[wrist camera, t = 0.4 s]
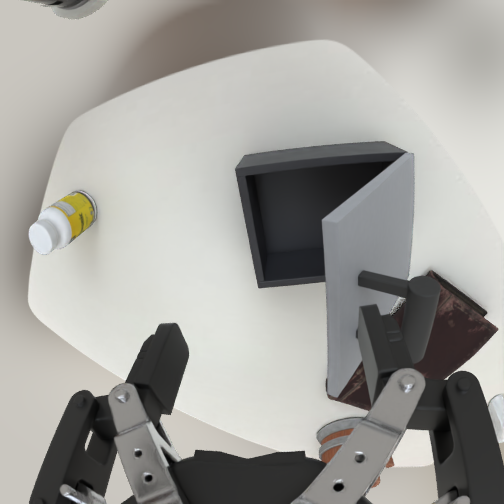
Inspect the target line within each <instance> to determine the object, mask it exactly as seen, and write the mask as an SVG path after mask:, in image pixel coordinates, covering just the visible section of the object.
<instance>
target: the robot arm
mask: <svg viewBox="0 0 504 504" xmlns="http://www.w3.org/2000/svg"><path fill="white" fill-rule="evenodd" d="M24 1H30V2H35V3H41V4H46V5H43V6H45V7H58V8H61V9H65V10H72V9H75V8H78V7H80V6H82V5H84V4H85V3H87V2H88V1H89V0H24ZM358 342H359V347H360V352H361V356H362V361H363V365H364V370H365V375H366V380H367V385H368V390H369V395H370V400H371V406H372V408H371V410H370V411H369V413H368V414H367V416H366V417H365V418H362V419H361V420H360V421H359V422H358V424H357V425H356V426H355V428H354V429H353V431H352V432H351V434H350V435H349V436H348V438H347V439H346V441H345V442H344V443H343V445H342V446H341V447H340V449H339V450H338V451H337V453H336V454H335V455H334V456H333V458H332V459H331V460H330V462H329V463H328V464H327V463H325V462H322V461H320V460H317V459H313V458H308V457H306V456H305V451H295V452H276V453H272V454H268V455H263V456H259V457H254V458H249V459H246V458H242V457H238V456H234V455H231V454H227V453H223V452H218V451H204V450H195V454H194V456H193V457H189V458H186V459H182V458H181V457H180V456H179V454H178V453H177V452H176V450H175V448H174V446H173V444H172V442H171V440H170V438H169V436H168V434H167V432H166V430H165V428H164V426H163V424H162V422H161V420H160V417H161V414H166V415H171V413H172V409H173V406H174V403H175V400H176V396H177V393H178V390H179V387H180V384H181V380H182V377H183V374H184V371H185V368H186V365H187V362H188V358H189V349H188V346H187V343H186V341H185V339H184V337H183V335H182V333H181V330H180V328H179V326H178V324H176V323H163V324H160V325H159V326H158V328H157V330H156V332H155V335H151V336H150V337H149V338H148V339H147V340H146V341H145V342H144V343H143V345H142V348H141V350H140V352H139V354H138V356H137V359H136V360H135V362H134V364H133V367H132V369H131V371H130V373H129V375H128V377H127V380H126V382H125V383H122V384H119V385H117V386H116V387H114V388H113V389H112V390H111V392H110V393H109V395H105V396H99V397H94V396H93V395H92V393H91V392H90V391H87V390H82V391H79V392H77V393H75V394H74V395H73V396H72V398H71V399H70V401H69V403H68V405H67V407H66V410H65V412H64V414H63V416H62V418H61V421H60V423H59V425H58V427H57V430H56V432H55V435H54V437H53V439H52V441H51V444H50V446H49V449H48V451H47V454H46V456H45V459H44V461H43V464H42V466H41V469H40V472H39V474H38V478H37V480H36V483H35V486H34V489H33V491H32V494H31V497H30V501H29V504H107V503H106V500H105V499H104V496H105V493H106V489H107V485H108V482H109V478H110V474H111V471H112V467H113V464H114V461H115V457H116V454H117V451H118V453H119V456H120V459H121V462H122V465H123V467H124V471H125V473H126V476H127V478H128V481H129V484H130V486H131V489H132V491H133V494H134V495H133V496H131V497H130V498H128V499H127V500H126V501H124V502H123V503H121V504H372V503H371V502H370V501H369V500H368V499H367V498H366V497H365V496H366V494H367V493H368V492H369V490H370V489H371V487H372V486H373V485H374V483H375V482H376V480H377V479H378V477H379V476H380V474H381V472H382V471H383V469H384V467H385V466H386V464H387V463H388V461H389V459H390V458H391V456H392V454H393V453H394V451H395V449H396V447H397V446H398V444H399V442H400V440H401V439H402V437H403V435H404V433H405V431H406V430H407V429H415V430H429V435H430V440H431V446H432V452H433V459H434V465H435V473H436V481H437V490H438V500H436V501H435V502H433V503H432V504H504V465H503V460H502V456H501V452H500V448H499V444H498V440H497V436H496V433H495V429H494V426H493V422H492V419H491V416H490V413H489V409H488V406H487V403H486V400H485V397H484V395H483V392H482V389H481V386H480V384H479V381H478V379H477V378H476V377H475V376H474V375H473V374H472V373H470V372H467V371H458V372H455V373H453V374H452V375H451V376H450V377H449V378H448V380H438V379H429V378H426V377H424V376H423V375H422V374H421V373H420V372H419V371H417V370H416V369H415V367H414V365H413V362H412V359H411V356H410V354H409V351H408V348H407V345H406V343H405V340H404V337H403V335H402V332H401V330H400V327H399V325H398V322H397V321H396V320H395V319H394V318H393V317H392V316H391V315H390V314H386V315H381V314H380V311H379V309H378V306H377V304H371V305H364V306H359V317H358ZM90 430H91V431H92V432H93V434H92V436H91V439H90V442H89V445H88V448H87V450H86V451H85V443H86V440H87V437H88V435H89V432H90Z"/></svg>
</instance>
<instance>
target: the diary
mask: <svg viewBox="0 0 504 504" xmlns="http://www.w3.org/2000/svg"><path fill="white" fill-rule="evenodd" d="M427 277H431V278H433V279H435V280H436V281H437V282H438V283H439V284H440V287H441V291H440V296H439V300H438V305H437V309H436V313H435V318H434V322H433V325H432V329H431V333H430V337H429V340H428V344H427V347H426V351H425V354H424V357H423V359H422V360H421V361H419V362H417V363H415V364H413V365H414V367H415V369H416V370H417V371H419V372H420V373H421V374H422V375H423V376H424V377H426V378H429V379H438V380H444V379H445V378H447V377H448V376H449V375H450V374H452V373H453V372H454V371H456V370H457V369H458V368H459V367H461V366H462V365H463V364H464V363H466V362H467V361H468V360H469V359H470V358H471V357H472V356H474V355H475V354H476V353H477V352H478V351H479V350H480V349H481V348H482V347H483V345H484V344H485V343H486V342H487V341H488V340H489V339H490V338H491V337H492V336H493V335H494V334H495V333H496V332H497V331H498V328H497V327H496V326H494V325H493V324H492V323H490V322H489V321H488V320H486V319H485V318H484V316H485V315H486V314H487V312H486V311H485V310H484V309H483V308H481V307H480V306H479V305H478V304H476V303H475V302H474V301H472V300H471V299H470V298H469V297H467V296H466V295H465V294H463V293H462V292H461V291H459V290H458V289H457V288H455V287H454V286H453V285H451V284H450V283H449V282H447V281H446V280H444V279H443V278H442V277H440V276H439V275H438V274H436V273H435V272H433V271H432V270H431V271H430V272H429V274H428V275H427ZM405 303H406V302H405ZM405 303H404V304H403V305H402V307H401V308H400V309H399V310H398V311H397V312H396V313H395V314H394V315H393V316H392V317H393V318H394V319H395V320H396V321H397V322H398V325H399V327H400V330H401V326H402V321H403V315H404V309H405ZM327 386H328V378H327V379H326V392H327ZM327 396H328V398H329V399H332V400H335V401H339V402H342V403H346V404H349V405H352V406H355V407H358V408H361V409H364V410H368V411H370V410H371V408H372V406H371V400H370V395H369V390H368V385H367V380H366V375H365V370H364V365H363V361H361V363H360V364H359V366H358V367H357V369H356V370H355V372H354V374H353V375H352V377H351V378H350V380H349V381H348V383H347V384H346V386H345V387H344V389H343V390H342V391H341V393H340V394H339V396H338V397H337V398H336V397H334V396H331V395H329V394H327Z"/></svg>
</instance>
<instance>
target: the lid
mask: <svg viewBox="0 0 504 504" xmlns="http://www.w3.org/2000/svg"><path fill="white" fill-rule="evenodd" d="M413 218H414V154H413V153H405V154H404V155H402V156H401V157H400V158H399V159H397V160H396V161H395V162H394V163H393V164H391V165H390V166H389V167H388V168H386V169H385V170H384V171H383V172H381V173H380V174H379V175H378V176H376V177H375V178H374V179H373V180H371V181H370V182H369V183H368V184H366V185H365V186H364V187H363V188H361V189H360V190H359V191H358V192H356V193H355V194H354V195H353V196H351V197H350V198H349V199H348V200H346V201H345V202H344V203H342V204H341V205H340V206H339V207H337V208H336V209H335V210H334V211H332V212H331V213H330V214H329V215H327V216H326V217H325V218H323V219H322V230H323V244H324V259H325V277H326V299H327V337H328V386H327V394H329V395H331V396H334V397H336V398H337V397H338V396H339V394H340V393H341V391H342V390H343V389H344V387H345V386H346V384H347V383H348V381H349V380H350V378H351V377H352V375H353V374H354V372H355V370H356V369H357V367H358V366H359V364H360V363H361V361H362V356H361V352H360V347H359V342H358V317H359V306H364V305H371V304H377V306H378V309H379V311H380V314H381V315H386V314H389V313H390V311H391V310H392V308H393V306H394V304H395V302H396V300H397V298H398V296H399V297H403V298H406V303H405V309H404V315H403V321H402V326H401V332H402V335H403V337H404V340H405V343H406V345H407V348H408V351H409V354H410V356H411V359H412V362H413V364H415V363H417V362H419V361H421V360H422V359H423V357H424V354H425V351H426V347H427V344H428V340H429V337H430V333H431V329H432V325H433V322H434V318H435V313H436V309H437V305H438V300H439V296H440V291H441V287H440V284H439V283H438V282H437V281H436V280H435V279H433V278H431V277H427V276H418V277H414V278H412V279H411V280H410V281H408V280H407V278H408V276H409V269H410V260H411V249H412V235H413Z"/></svg>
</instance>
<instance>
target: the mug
mask: <svg viewBox="0 0 504 504" xmlns="http://www.w3.org/2000/svg"><path fill="white" fill-rule="evenodd" d="M361 419H362V418H347V419H342V420H338V421H335V422H332V423H330V424H328V425H326V426H325V427H323V428H322V429H321V430H320V431H319V432H318V434H317V440H318V441H319V442H320V444H321V447H320V448H319V458H320V460H322V462H325V463H327V464H328V463H329V462H330V460H331V459H332V458H333V456H334V455H335V454H336V453H337V451H338V450H339V449H340V447H341V446H342V445H343V443H344V442H345V441H346V439H347V438H348V436H349V435H350V434H351V432H352V431H353V429H354V428H355V426H356V425H357V424H358V422H359V421H360V420H361ZM392 466H394V462H393V459H392V456H391V458H390V459H389V461H388V463H387V464H386V467H387V468H389V467H392ZM379 483H380V476H379V477H378V479H377V480H376V482H375V483H374V485H373V486H372V487H371V488H373V487H376V486H377V485H379Z"/></svg>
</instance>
